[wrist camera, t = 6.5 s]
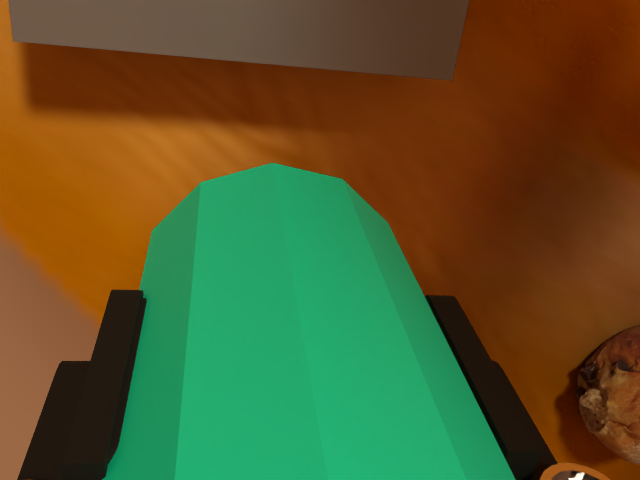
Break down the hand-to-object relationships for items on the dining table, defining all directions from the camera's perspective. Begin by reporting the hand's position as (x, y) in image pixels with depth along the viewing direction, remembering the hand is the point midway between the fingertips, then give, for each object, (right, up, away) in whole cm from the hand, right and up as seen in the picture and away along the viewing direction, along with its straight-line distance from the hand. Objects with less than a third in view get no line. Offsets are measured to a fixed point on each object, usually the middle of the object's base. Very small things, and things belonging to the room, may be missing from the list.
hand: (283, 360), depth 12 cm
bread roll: (+23, -7, +31) cm, 39 cm away
